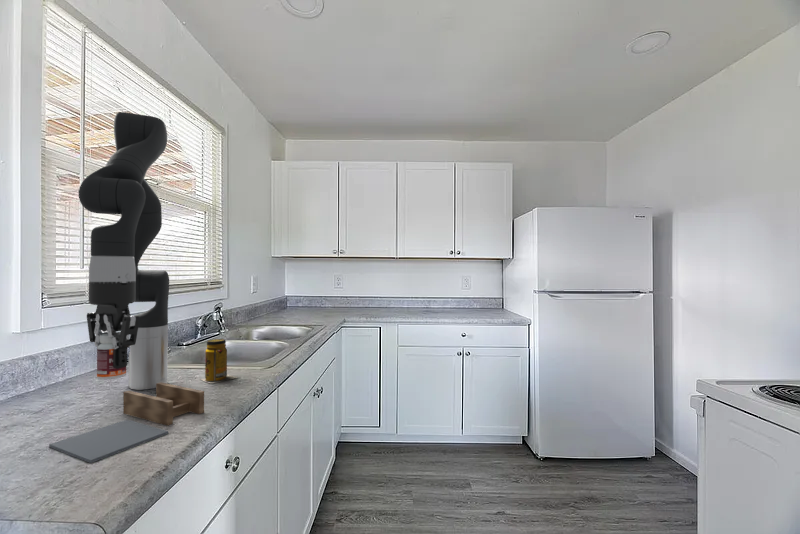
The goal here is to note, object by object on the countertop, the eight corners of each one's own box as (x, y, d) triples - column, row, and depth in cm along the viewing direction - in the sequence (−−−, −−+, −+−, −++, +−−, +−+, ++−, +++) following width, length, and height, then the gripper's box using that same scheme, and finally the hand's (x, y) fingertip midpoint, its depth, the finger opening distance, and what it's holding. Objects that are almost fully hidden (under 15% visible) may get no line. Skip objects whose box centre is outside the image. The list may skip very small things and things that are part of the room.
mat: (49, 446, 76) (49, 444, 76) (127, 421, 88) (127, 419, 88) (90, 463, 69) (90, 460, 69) (168, 433, 82) (168, 431, 82)
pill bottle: (111, 380, 76) (111, 336, 76) (90, 379, 77) (90, 335, 77) (132, 374, 81) (132, 332, 81) (112, 373, 82) (113, 332, 82)
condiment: (199, 379, 122) (200, 340, 122) (226, 374, 128) (227, 336, 128) (210, 384, 117) (211, 343, 117) (238, 378, 123) (238, 339, 124)
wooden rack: (123, 413, 93) (123, 391, 93) (160, 402, 101) (160, 382, 101) (167, 425, 86) (167, 402, 86) (204, 412, 94) (204, 391, 94)
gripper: (70, 279, 79) (70, 366, 79) (113, 280, 72) (112, 375, 72) (112, 278, 86) (111, 358, 85) (154, 279, 79) (153, 366, 79)
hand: (112, 365), depth 79 cm, fingers closed on pill bottle, 4 cm apart
